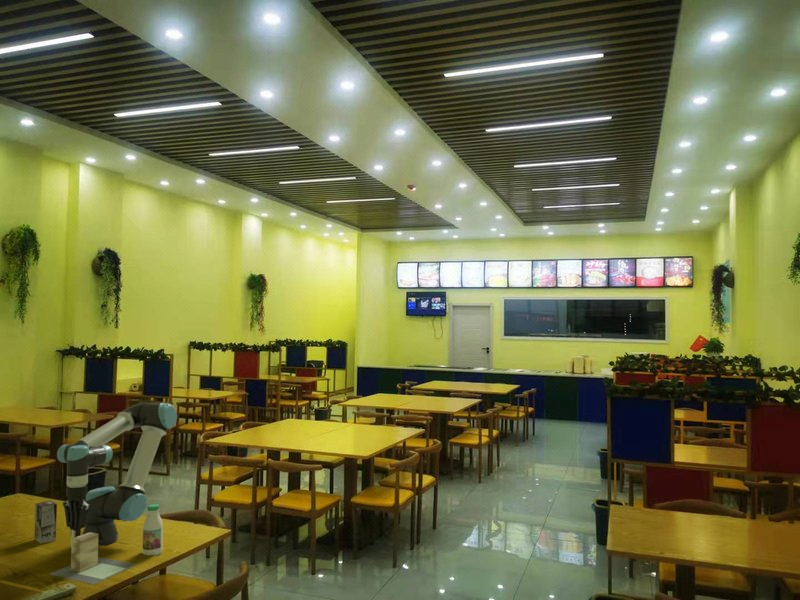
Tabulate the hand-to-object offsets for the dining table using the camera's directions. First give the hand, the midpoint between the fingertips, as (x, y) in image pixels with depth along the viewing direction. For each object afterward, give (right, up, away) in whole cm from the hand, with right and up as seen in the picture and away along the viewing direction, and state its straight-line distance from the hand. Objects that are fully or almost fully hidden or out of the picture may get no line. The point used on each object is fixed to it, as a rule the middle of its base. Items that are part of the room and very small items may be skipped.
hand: (75, 545), depth 237 cm
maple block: (+5, -8, -2) cm, 9 cm away
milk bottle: (+25, -10, +14) cm, 30 cm away
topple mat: (+9, -8, -4) cm, 13 cm away
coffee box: (-30, -10, +31) cm, 44 cm away
